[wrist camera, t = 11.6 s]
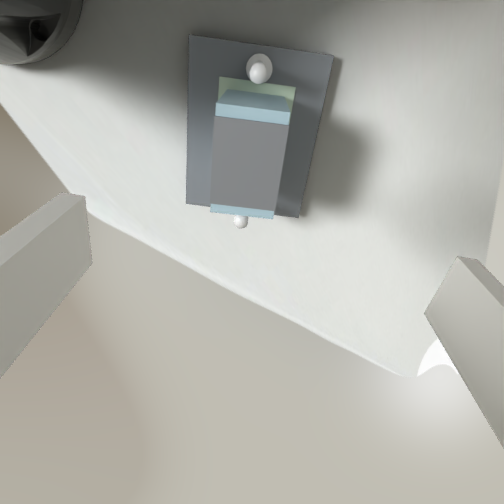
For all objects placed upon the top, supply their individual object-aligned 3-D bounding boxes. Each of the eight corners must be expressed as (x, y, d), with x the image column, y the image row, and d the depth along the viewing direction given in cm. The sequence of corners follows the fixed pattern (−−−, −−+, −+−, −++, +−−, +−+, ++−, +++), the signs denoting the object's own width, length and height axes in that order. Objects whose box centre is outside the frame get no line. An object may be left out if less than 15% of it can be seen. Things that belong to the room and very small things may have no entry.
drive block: (221, 177, 33) (209, 212, 26) (226, 88, 29) (214, 103, 22) (271, 183, 33) (273, 220, 26) (285, 96, 29) (291, 113, 22)
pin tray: (188, 199, 36) (172, 230, 30) (191, 34, 28) (171, 32, 22) (297, 213, 36) (304, 247, 30) (331, 55, 28) (349, 58, 22)
